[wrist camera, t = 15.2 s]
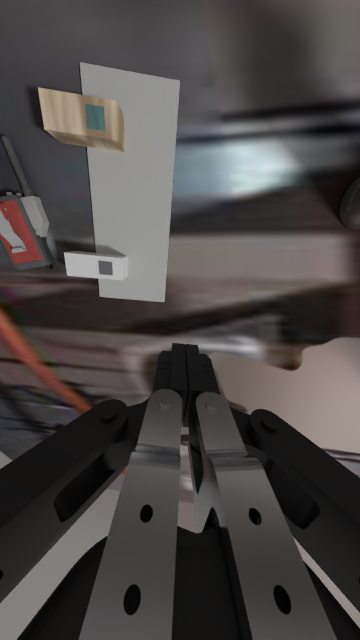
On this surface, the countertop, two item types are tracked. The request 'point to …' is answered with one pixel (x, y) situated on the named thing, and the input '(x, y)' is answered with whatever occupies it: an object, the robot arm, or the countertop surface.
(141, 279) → the mat
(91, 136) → the beech block
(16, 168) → the walkie-talkie
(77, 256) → the grey block
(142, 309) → the countertop surface
